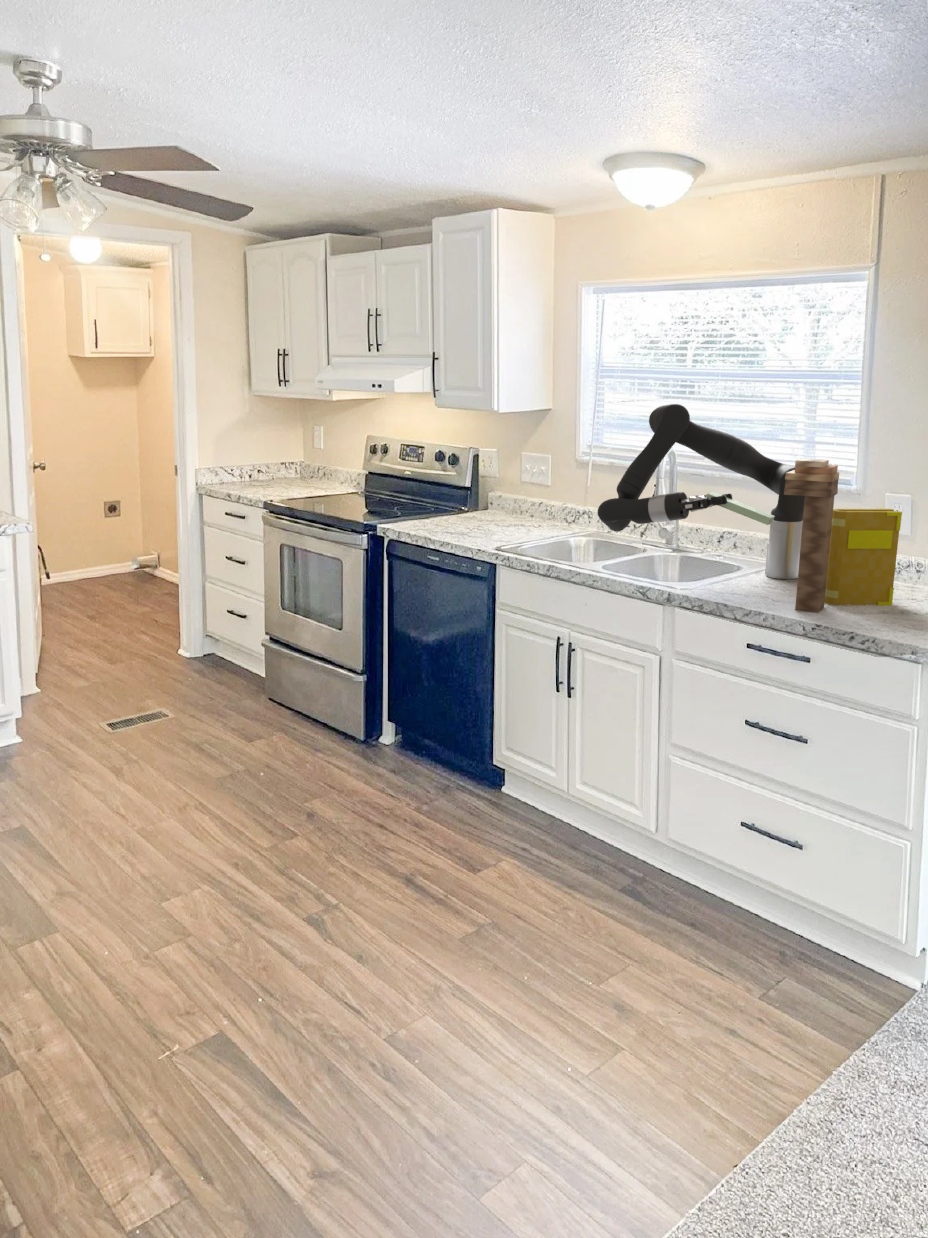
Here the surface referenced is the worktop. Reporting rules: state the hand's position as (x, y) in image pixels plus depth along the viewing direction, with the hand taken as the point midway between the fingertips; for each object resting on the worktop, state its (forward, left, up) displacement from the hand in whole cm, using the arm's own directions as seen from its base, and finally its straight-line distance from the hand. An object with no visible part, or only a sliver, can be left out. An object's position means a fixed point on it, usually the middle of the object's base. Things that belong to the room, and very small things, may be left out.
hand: (728, 498), depth 277 cm
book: (+12, +33, -28) cm, 45 cm away
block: (+2, +2, -3) cm, 4 cm away
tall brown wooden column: (+14, +15, -28) cm, 35 cm away
